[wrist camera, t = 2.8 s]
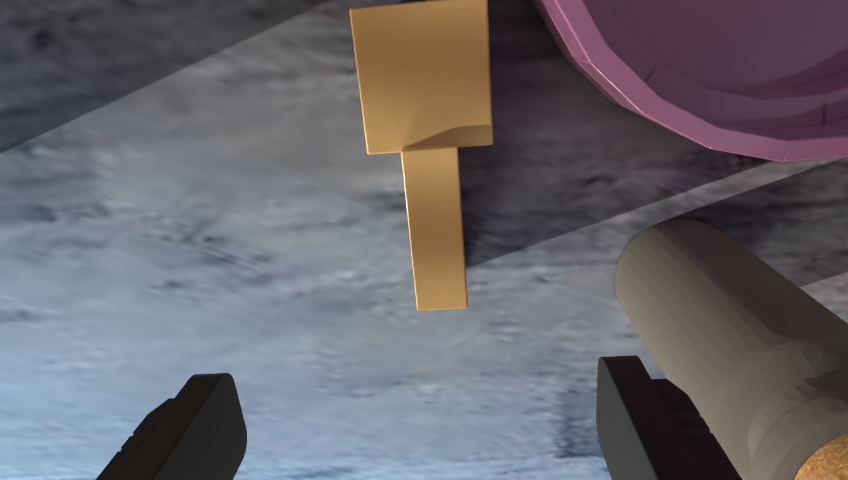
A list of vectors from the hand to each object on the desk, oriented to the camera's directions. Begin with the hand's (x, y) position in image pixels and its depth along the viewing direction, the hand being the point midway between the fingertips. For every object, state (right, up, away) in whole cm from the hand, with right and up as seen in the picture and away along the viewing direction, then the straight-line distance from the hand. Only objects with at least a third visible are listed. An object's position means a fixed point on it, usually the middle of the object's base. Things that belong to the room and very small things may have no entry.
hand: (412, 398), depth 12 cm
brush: (+1, +8, +13) cm, 15 cm away
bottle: (+13, +2, +15) cm, 19 cm away
